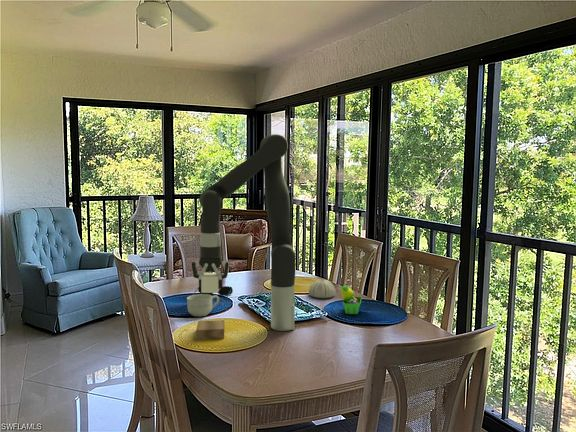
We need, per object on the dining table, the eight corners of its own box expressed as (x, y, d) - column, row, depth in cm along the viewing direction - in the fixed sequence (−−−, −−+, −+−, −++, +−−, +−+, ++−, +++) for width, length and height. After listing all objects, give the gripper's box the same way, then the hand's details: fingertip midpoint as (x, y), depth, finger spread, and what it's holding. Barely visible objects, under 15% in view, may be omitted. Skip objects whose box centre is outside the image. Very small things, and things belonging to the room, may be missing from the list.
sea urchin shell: (326, 301, 222) (326, 284, 222) (302, 296, 230) (303, 280, 230) (340, 295, 233) (340, 279, 232) (317, 290, 241) (318, 275, 240)
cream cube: (219, 288, 178) (219, 273, 178) (217, 292, 173) (217, 276, 172) (204, 288, 178) (203, 272, 178) (201, 292, 172) (201, 276, 172)
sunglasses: (233, 295, 233) (232, 286, 231) (227, 308, 218) (226, 298, 217) (198, 294, 234) (198, 285, 233) (190, 307, 220) (190, 297, 218)
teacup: (187, 319, 195) (187, 300, 194) (186, 311, 205) (185, 293, 204) (221, 317, 198) (221, 298, 197) (218, 309, 209) (218, 291, 208)
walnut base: (224, 330, 183) (224, 320, 183) (224, 339, 173) (223, 329, 173) (198, 331, 182) (198, 321, 182) (196, 340, 172) (196, 330, 172)
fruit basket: (360, 315, 201) (360, 289, 200) (339, 314, 203) (339, 288, 202) (361, 307, 213) (362, 283, 211) (341, 306, 214) (342, 282, 213)
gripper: (231, 243, 178) (231, 286, 179) (192, 242, 177) (193, 286, 179) (228, 246, 170) (228, 291, 172) (188, 246, 170) (189, 291, 172)
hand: (210, 288), depth 175 cm, fingers closed on cream cube, 6 cm apart
